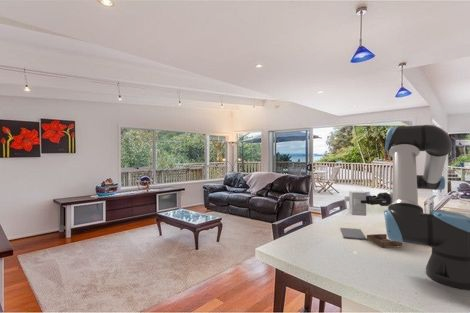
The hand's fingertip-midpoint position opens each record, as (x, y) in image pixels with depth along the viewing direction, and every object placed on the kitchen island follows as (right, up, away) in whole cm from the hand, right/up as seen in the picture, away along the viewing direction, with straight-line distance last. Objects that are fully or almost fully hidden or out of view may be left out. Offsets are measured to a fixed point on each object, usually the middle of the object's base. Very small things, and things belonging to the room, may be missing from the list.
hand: (349, 200), depth 142 cm
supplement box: (+5, -8, +1) cm, 9 cm away
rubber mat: (+2, -19, +2) cm, 20 cm away
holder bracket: (+12, -19, -13) cm, 26 cm away
